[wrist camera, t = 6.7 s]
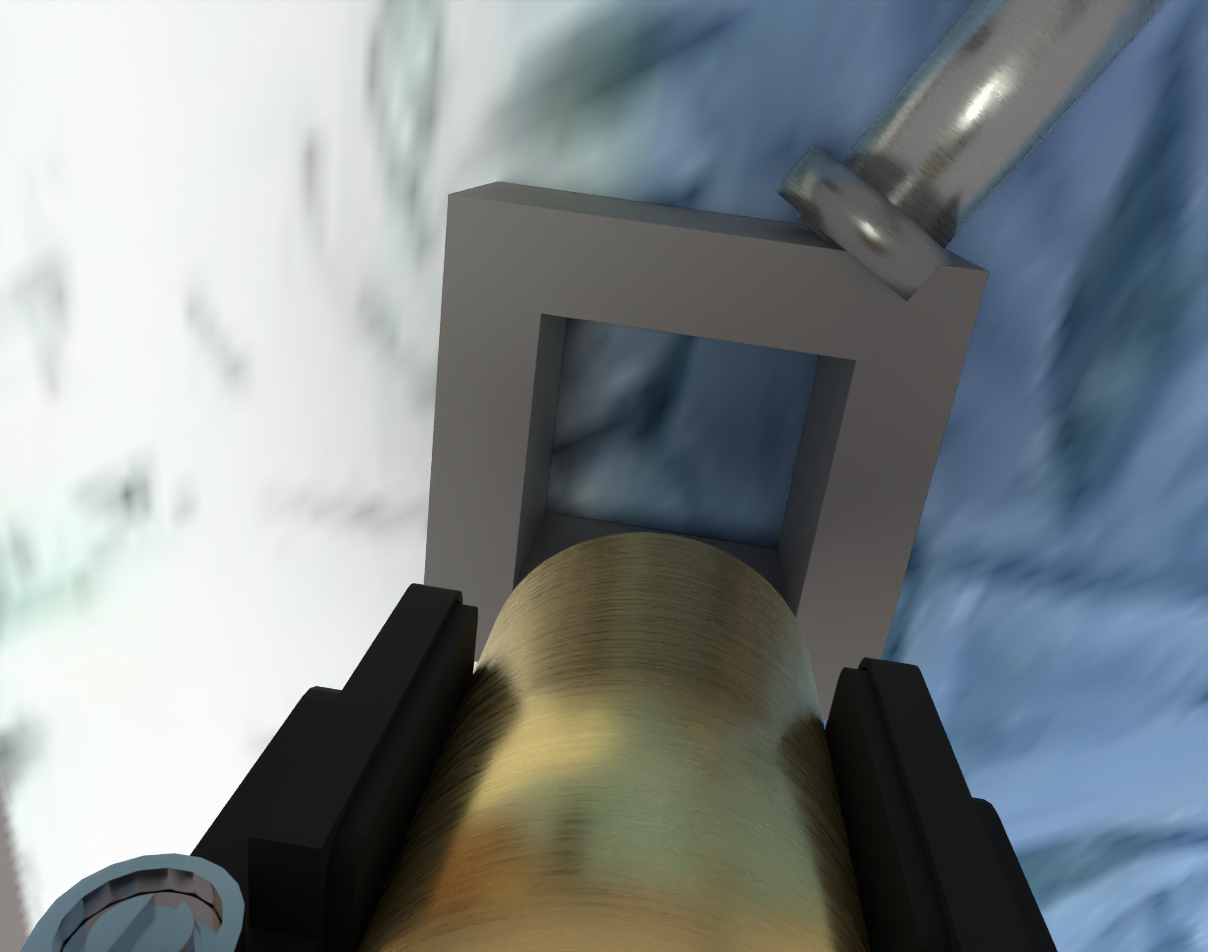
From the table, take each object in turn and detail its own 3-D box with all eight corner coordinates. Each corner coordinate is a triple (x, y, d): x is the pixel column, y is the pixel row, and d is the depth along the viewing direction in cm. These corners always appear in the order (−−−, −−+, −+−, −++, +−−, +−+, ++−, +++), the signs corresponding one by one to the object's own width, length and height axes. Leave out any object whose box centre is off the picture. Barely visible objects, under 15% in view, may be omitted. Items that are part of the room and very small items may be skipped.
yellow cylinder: (844, 561, 11) (1191, 1594, 3) (775, 835, 12) (900, 1998, 4) (501, 507, 11) (46, 1357, 3) (474, 783, 12) (116, 1813, 5)
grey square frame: (934, 243, 19) (989, 271, 15) (836, 627, 22) (862, 726, 19) (497, 181, 19) (448, 194, 16) (466, 566, 23) (419, 651, 19)
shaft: (893, 295, 19) (942, 339, 15) (763, 187, 19) (778, 203, 15) (1170, -11, 17) (1312, -53, 13) (1028, -145, 17) (1131, -232, 13)
